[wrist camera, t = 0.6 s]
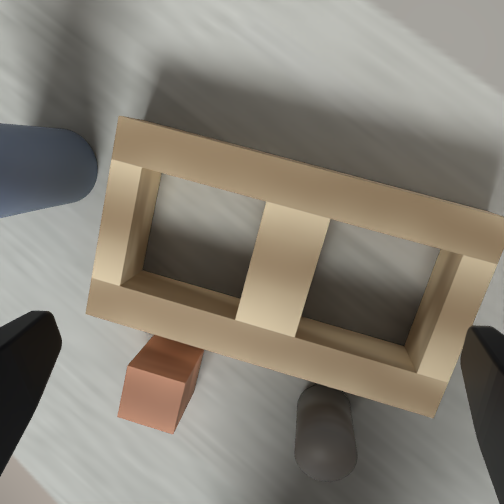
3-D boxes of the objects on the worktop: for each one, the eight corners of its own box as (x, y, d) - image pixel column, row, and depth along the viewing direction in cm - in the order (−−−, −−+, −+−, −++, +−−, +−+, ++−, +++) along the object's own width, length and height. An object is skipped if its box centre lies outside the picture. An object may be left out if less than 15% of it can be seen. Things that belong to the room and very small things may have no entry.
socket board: (392, 453, 25) (406, 508, 21) (99, 363, 26) (62, 399, 23) (488, 211, 22) (526, 224, 18) (143, 120, 23) (108, 113, 19)
